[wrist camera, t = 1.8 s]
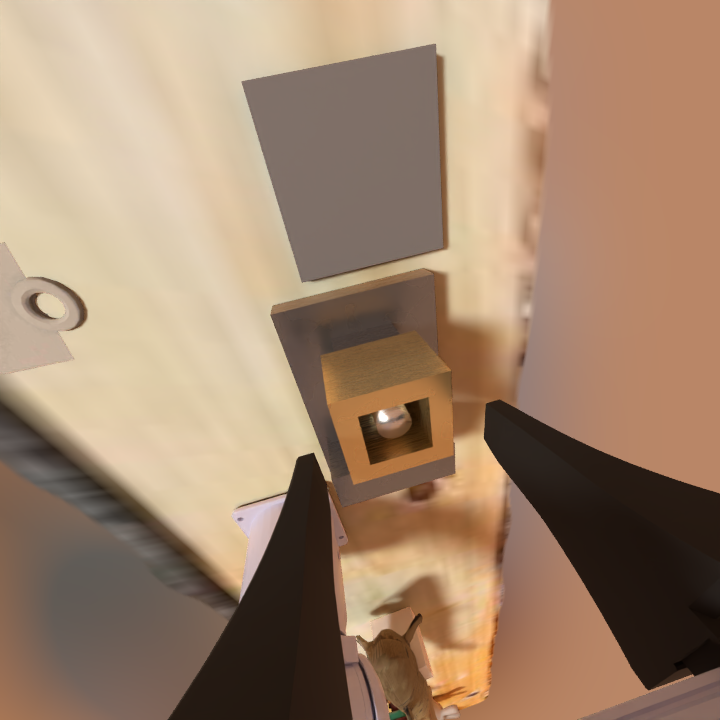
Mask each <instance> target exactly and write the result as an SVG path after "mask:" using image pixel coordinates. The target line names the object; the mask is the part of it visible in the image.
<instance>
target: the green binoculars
mask: <svg viewBox="0 0 720 720" xmlns="http://www.w3.org/2000/svg"><path fill="white" fill-rule="evenodd" d="M388 703H389V708H391V710H392V712H390V713H389V717H390V720H407V717H406V714H405V713H404V712H402V711H401V710H400V709H398V708H397V707H395V706H394V705H393V704H392V703H391V702H390V701H389V700H388Z"/></svg>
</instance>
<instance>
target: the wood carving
mask: <svg viewBox="0 0 720 720" xmlns="http://www.w3.org/2000/svg"><path fill="white" fill-rule="evenodd" d="M370 622H371V628H372V634H373V640H374V641H372V642H367V641H365V640H364V639H363V638H362V637H361V636H360V635H359V636H358V635H357V636H356V637H357V640H358V641H357V640H356V641H357V642H358V643H359V644H360V645H361V646H362V647H363V649H364V650H365V651H366V654H367V658H368V660H369V661H370V663H371V665H372V666H373V668H374V670H375V672H376V673H377V675H378V677H379V680H380V682H381V685H382V688H383V691H384V694H385V697H386V699H387V700H389V701H390V702H391V703H392V704H393V705H394V706H395V707H397V708H398V709H400V710H401V711H402V712H404V713H405V714H406V717H407V720H437V717H436V715H435V710H434V706H433V699H432V691H431V688H430V686H427V681H426V679H429V678H431V677H433V673H432V670H431V666H430V663H429V659H428V656H427V652H426V649H425V645H424V642H423V638H422V635H421V631H420V628H419V624H420V623H421V622H422V615H421V614H418V615H417V616H415V615H414V613H413V611H412V609H411V607H410V606H409V607H407V608H404V609H401V610H399V611H396V612H393V613H391V614H388V615H385V616H383V617H380V618H377V619H375V620H372V621H370Z"/></svg>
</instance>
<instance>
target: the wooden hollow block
mask: <svg viewBox="0 0 720 720" xmlns="http://www.w3.org/2000/svg"><path fill="white" fill-rule="evenodd" d="M320 357H321V364H322V371H323V378H324V385H325V392H326V399H327V405H328V408H329V411H330V415H331V418H332V421H333V424H334V427H335V430H336V433H337V436H338V439H339V442H340V445H341V448H342V451H343V454H344V457H345V460H346V463H347V466H348V469H349V472H350V475H351V478H352V481H353V484H354V485H355V484H359V483H362V482H365V481H369V480H372V479H375V478H379V477H382V476H385V475H389V474H392V473H396V472H399V471H402V470H406V469H409V468H412V467H416V466H419V465H422V464H426V463H429V462H433V461H436V460H439V459H443V458H446V457H449V456H453V455H454V447H453V411H452V374H451V369H450V368H449V367H448V366H447V365H446V364H445V363H444V362H443V361H442V359H441V358H440V357H439V356H438V355H437V354H436V353H435V352H434V351H433V350H432V348H431V347H430V346H429V345H428V344H427V343H426V342H425V341H424V340H423V339H422V337H421V336H420V335H419V334H418V333H417V332H416V331H411V332H407V333H403V334H399V335H396V336H392V337H388V338H384V339H380V340H377V341H373V342H369V343H365V344H362V345H358V346H354V347H350V348H346V349H343V350H339V351H335V352H331V353H327V354H324V355H320ZM402 404H404V405H405V407H406V409H407V411H408V413H409V415H410V417H411V419H412V424H411V427H410V429H409V430H408V431H407V432H406V433H405V434H403V435H402V436H400V437H397V438H385V437H382V436H381V435H380V434H379V433H378V430H377V427H376V425H375V422H374V419H373V416H372V413H373V412H377V411H380V410H384V409H387V408H391V407H394V406H398V405H402Z"/></svg>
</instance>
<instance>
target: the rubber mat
mask: <svg viewBox="0 0 720 720" xmlns="http://www.w3.org/2000/svg"><path fill="white" fill-rule="evenodd" d="M242 85H243V88H244V92H245V95H246V98H247V102H248V105H249V108H250V112H251V115H252V118H253V122H254V125H255V128H256V131H257V135H258V138H259V141H260V145H261V148H262V151H263V155H264V158H265V161H266V165H267V168H268V171H269V175H270V178H271V181H272V185H273V188H274V191H275V195H276V198H277V201H278V204H279V208H280V211H281V214H282V218H283V221H284V224H285V228H286V231H287V234H288V238H289V241H290V244H291V248H292V251H293V254H294V258H295V261H296V264H297V268H298V271H299V274H300V278H301V281H302V283H303V282H307V281H311V280H315V279H319V278H323V277H327V276H331V275H335V274H339V273H343V272H347V271H351V270H356V269H360V268H364V267H368V266H372V265H376V264H380V263H384V262H388V261H392V260H396V259H400V258H404V257H409V256H413V255H417V254H421V253H425V252H429V251H433V250H437V249H441V248H443V228H442V200H441V172H440V144H439V116H438V88H437V61H436V44H432V45H427V46H421V47H416V48H411V49H406V50H401V51H396V52H391V53H385V54H380V55H375V56H370V57H365V58H360V59H355V60H349V61H344V62H339V63H334V64H329V65H324V66H319V67H313V68H308V69H303V70H298V71H293V72H288V73H283V74H278V75H272V76H267V77H262V78H257V79H252V80H247V81H242Z"/></svg>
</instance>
